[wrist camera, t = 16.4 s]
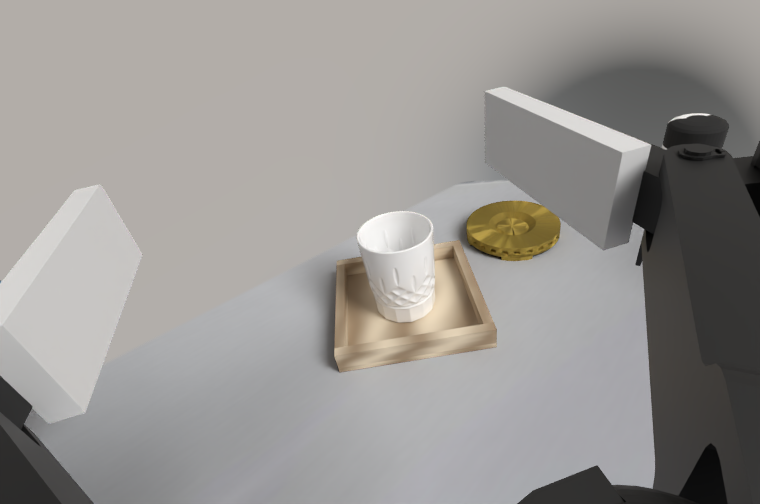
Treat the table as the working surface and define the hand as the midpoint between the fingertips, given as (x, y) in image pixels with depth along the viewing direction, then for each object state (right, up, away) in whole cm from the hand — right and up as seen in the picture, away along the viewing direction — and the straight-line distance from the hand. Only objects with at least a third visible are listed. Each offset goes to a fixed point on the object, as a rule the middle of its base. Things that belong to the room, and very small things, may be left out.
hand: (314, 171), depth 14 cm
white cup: (+5, -9, +34) cm, 35 cm away
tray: (+5, -9, +34) cm, 36 cm away
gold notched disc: (+20, -1, +43) cm, 47 cm away
